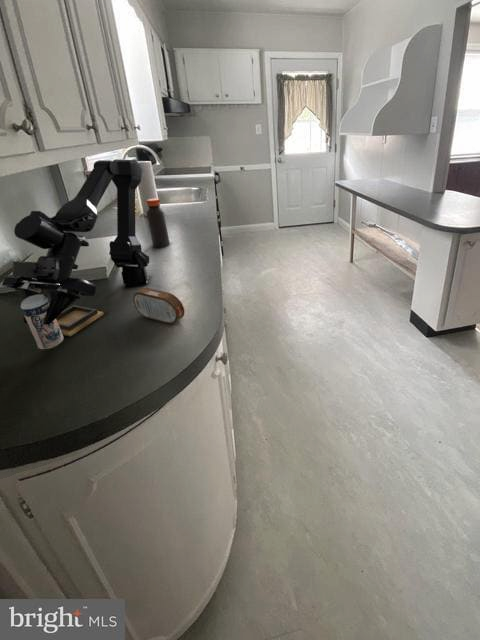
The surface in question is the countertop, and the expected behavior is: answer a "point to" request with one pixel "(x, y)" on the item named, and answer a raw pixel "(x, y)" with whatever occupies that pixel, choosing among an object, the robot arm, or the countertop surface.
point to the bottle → (157, 223)
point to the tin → (158, 305)
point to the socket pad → (76, 319)
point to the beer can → (41, 322)
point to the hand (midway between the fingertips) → (36, 323)
